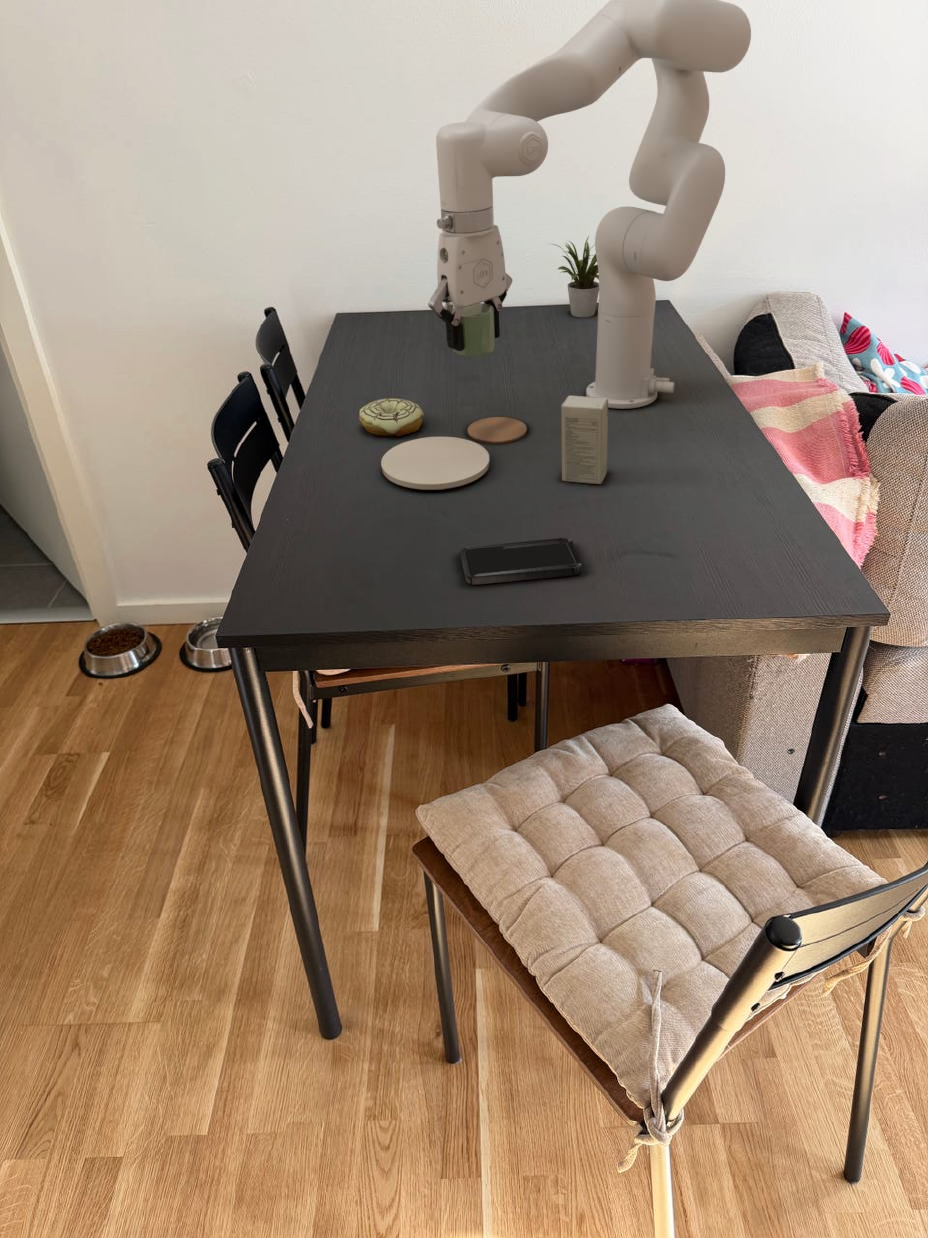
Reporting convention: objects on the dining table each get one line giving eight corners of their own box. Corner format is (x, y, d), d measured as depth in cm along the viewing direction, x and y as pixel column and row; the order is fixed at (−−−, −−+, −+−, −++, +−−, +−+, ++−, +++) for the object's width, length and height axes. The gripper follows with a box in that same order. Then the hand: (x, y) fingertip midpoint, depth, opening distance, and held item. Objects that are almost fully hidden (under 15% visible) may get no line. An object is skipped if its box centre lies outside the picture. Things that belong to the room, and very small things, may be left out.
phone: (582, 567, 121) (466, 577, 120) (582, 574, 122) (466, 585, 121) (570, 536, 128) (459, 546, 127) (570, 543, 128) (460, 553, 127)
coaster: (533, 422, 162) (533, 420, 162) (516, 446, 155) (517, 444, 154) (478, 416, 165) (478, 414, 165) (459, 439, 158) (459, 437, 157)
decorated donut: (397, 445, 157) (395, 423, 155) (348, 431, 162) (346, 410, 160) (435, 422, 164) (433, 401, 162) (386, 410, 169) (384, 390, 167)
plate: (503, 451, 153) (503, 442, 152) (469, 499, 140) (468, 489, 139) (406, 440, 158) (405, 431, 157) (364, 485, 145) (363, 476, 144)
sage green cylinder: (500, 342, 148) (499, 303, 145) (487, 357, 143) (486, 317, 140) (460, 339, 150) (458, 301, 147) (446, 354, 145) (444, 315, 142)
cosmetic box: (607, 473, 145) (611, 397, 138) (601, 485, 142) (604, 408, 135) (566, 468, 147) (568, 393, 140) (559, 480, 144) (560, 404, 137)
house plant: (541, 323, 205) (542, 244, 196) (547, 304, 216) (548, 228, 207) (608, 324, 203) (612, 245, 193) (610, 304, 214) (614, 228, 205)
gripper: (437, 236, 129) (446, 363, 140) (529, 211, 138) (531, 332, 148) (404, 228, 134) (415, 352, 144) (494, 204, 143) (498, 322, 153)
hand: (473, 341), depth 146 cm, fingers closed on sage green cylinder, 6 cm apart
